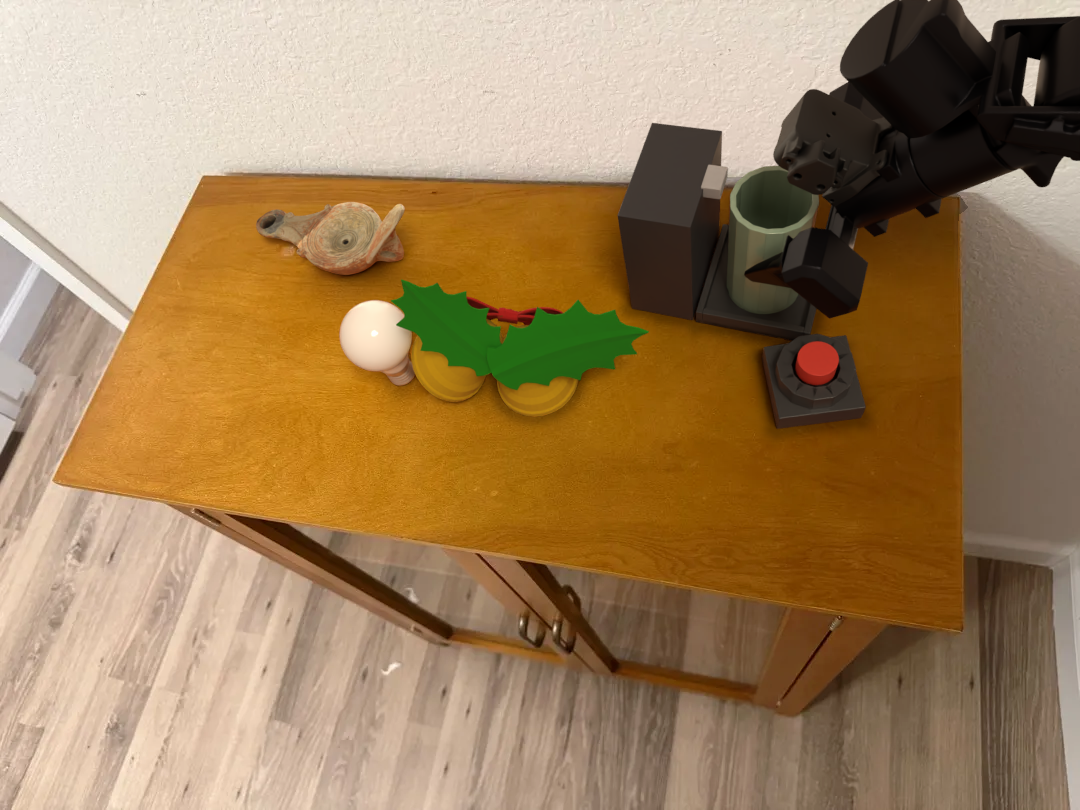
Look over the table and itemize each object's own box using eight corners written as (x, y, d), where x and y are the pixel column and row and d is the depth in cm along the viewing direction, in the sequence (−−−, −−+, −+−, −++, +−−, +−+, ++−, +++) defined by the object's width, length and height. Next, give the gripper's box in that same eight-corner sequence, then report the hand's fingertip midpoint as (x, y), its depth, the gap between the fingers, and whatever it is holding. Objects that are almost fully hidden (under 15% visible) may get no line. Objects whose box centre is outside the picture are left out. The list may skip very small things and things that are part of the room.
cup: (812, 265, 72) (831, 177, 61) (786, 324, 70) (800, 243, 59) (742, 245, 74) (748, 157, 64) (714, 301, 72) (716, 219, 62)
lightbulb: (361, 390, 76) (313, 333, 66) (396, 339, 78) (355, 276, 68) (412, 415, 74) (370, 359, 64) (447, 362, 76) (412, 300, 66)
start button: (830, 348, 65) (834, 338, 63) (839, 382, 63) (843, 372, 62) (791, 354, 65) (793, 344, 64) (799, 387, 64) (801, 378, 62)
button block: (842, 347, 68) (849, 323, 65) (861, 418, 65) (870, 398, 62) (761, 358, 70) (764, 336, 66) (776, 429, 66) (780, 409, 63)
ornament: (610, 373, 77) (648, 255, 66) (610, 439, 72) (652, 321, 60) (403, 343, 76) (407, 216, 64) (387, 408, 70) (388, 281, 59)
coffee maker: (830, 252, 73) (856, 143, 60) (807, 344, 69) (830, 248, 57) (660, 225, 78) (651, 119, 65) (631, 309, 74) (616, 215, 62)
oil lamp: (417, 306, 79) (381, 247, 70) (252, 265, 86) (200, 207, 77) (450, 239, 82) (420, 174, 73) (288, 205, 89) (242, 142, 80)
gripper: (886, -18, 52) (721, 92, 66) (831, 196, 46) (661, 271, 59) (977, 84, 57) (806, 169, 70) (940, 293, 50) (759, 343, 64)
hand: (760, 232), depth 66 cm, fingers open, 9 cm apart
